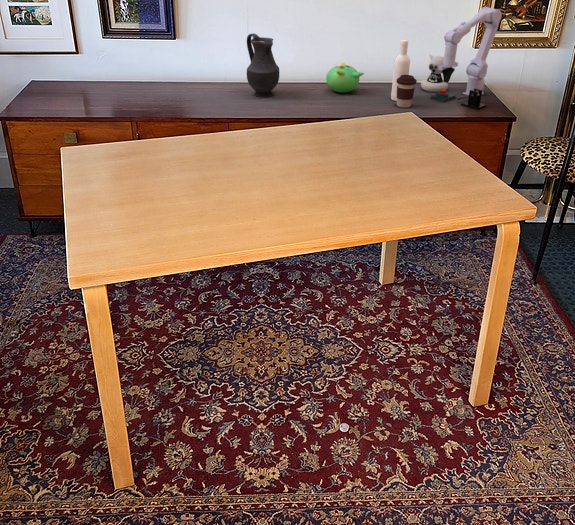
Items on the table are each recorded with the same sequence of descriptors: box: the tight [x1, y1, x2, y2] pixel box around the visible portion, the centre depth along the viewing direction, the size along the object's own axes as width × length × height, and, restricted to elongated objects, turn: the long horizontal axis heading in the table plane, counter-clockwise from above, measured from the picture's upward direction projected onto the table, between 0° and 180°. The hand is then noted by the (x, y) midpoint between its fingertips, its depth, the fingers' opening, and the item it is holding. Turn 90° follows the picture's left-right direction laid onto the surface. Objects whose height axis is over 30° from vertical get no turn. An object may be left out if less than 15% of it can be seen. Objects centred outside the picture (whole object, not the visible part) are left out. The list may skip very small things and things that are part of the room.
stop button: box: [439, 89, 447, 94], centre depth 334 cm, size 4×4×2 cm
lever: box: [456, 91, 479, 101], centre depth 326 cm, size 11×6×2 cm, turn 43°
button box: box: [430, 91, 456, 103], centre depth 336 cm, size 11×8×4 cm
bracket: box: [460, 89, 487, 111], centre depth 324 cm, size 10×8×8 cm
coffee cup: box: [396, 74, 418, 109], centre depth 321 cm, size 10×10×15 cm
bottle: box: [390, 39, 411, 102], centre depth 327 cm, size 8×8×30 cm
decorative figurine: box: [420, 54, 449, 93], centre depth 346 cm, size 15×15×20 cm
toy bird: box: [325, 62, 365, 93], centre depth 341 cm, size 18×17×15 cm
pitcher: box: [246, 32, 280, 98], centre depth 331 cm, size 17×21×30 cm
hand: (446, 82), depth 331 cm, fingers closed
